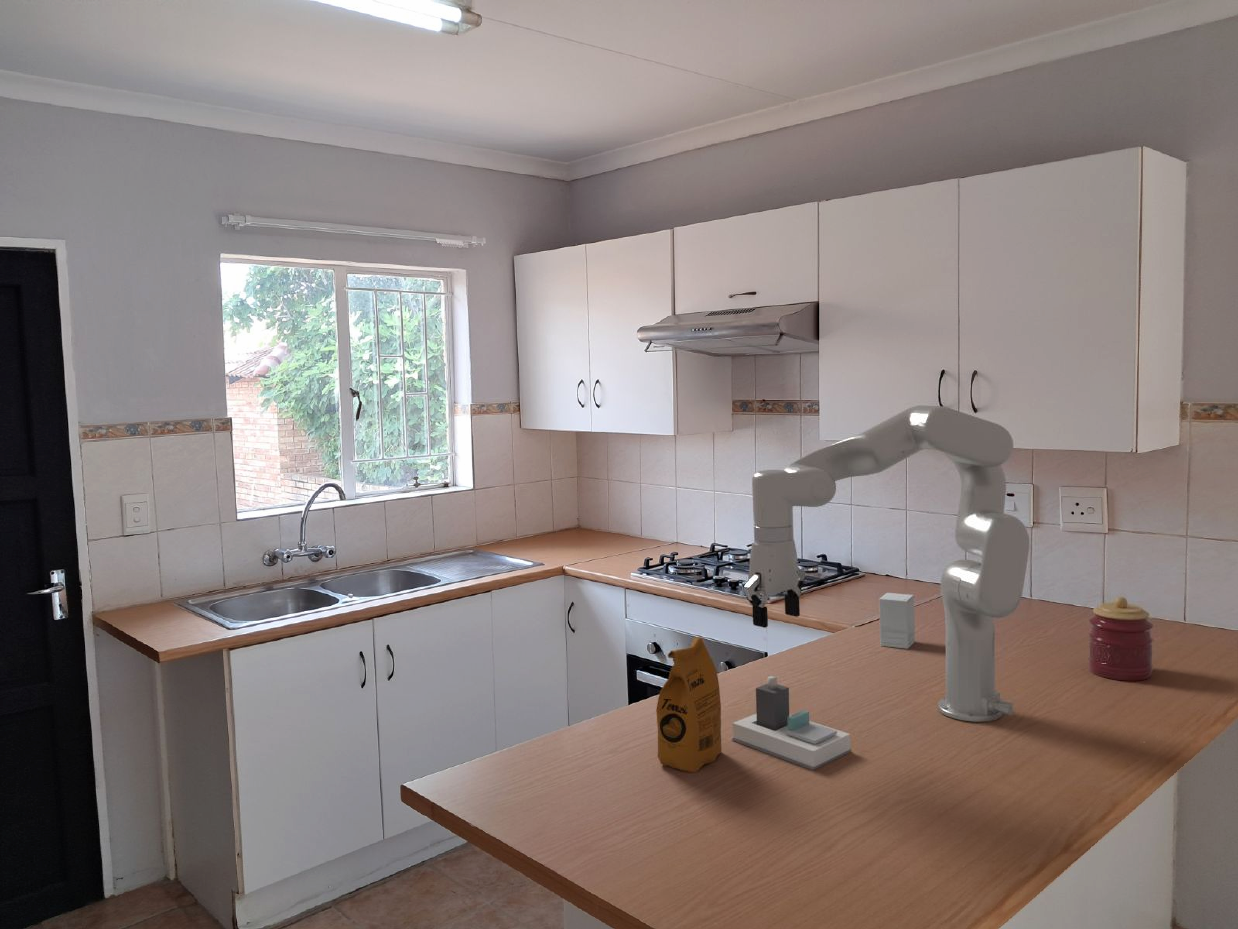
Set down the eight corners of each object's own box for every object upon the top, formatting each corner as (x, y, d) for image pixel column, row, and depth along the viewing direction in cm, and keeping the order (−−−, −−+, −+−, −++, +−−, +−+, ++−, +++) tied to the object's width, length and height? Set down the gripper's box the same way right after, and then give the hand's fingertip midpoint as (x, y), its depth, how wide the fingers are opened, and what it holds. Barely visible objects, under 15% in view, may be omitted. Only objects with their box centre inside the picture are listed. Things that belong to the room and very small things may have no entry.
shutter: (837, 734, 172) (836, 718, 171) (815, 744, 167) (814, 728, 167) (806, 724, 177) (806, 709, 177) (785, 733, 173) (784, 718, 173)
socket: (851, 751, 173) (850, 733, 172) (812, 770, 165) (812, 751, 165) (770, 724, 188) (770, 707, 187) (732, 740, 180) (731, 723, 180)
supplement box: (915, 642, 239) (915, 594, 238) (907, 649, 233) (907, 601, 232) (887, 638, 243) (886, 591, 242) (879, 646, 237) (878, 598, 236)
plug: (789, 737, 179) (788, 677, 178) (775, 743, 176) (773, 683, 175) (771, 731, 183) (770, 672, 182) (757, 737, 180) (755, 678, 179)
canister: (1139, 686, 201) (1141, 607, 199) (1078, 673, 211) (1079, 598, 209) (1161, 671, 210) (1162, 596, 208) (1101, 660, 219) (1102, 587, 218)
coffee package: (649, 764, 171) (645, 649, 168) (685, 742, 180) (682, 632, 178) (694, 777, 165) (690, 657, 162) (729, 752, 174) (726, 640, 172)
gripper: (786, 525, 186) (789, 608, 187) (729, 539, 174) (732, 627, 176) (816, 529, 180) (819, 614, 182) (759, 543, 169) (762, 634, 170)
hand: (776, 620), depth 179 cm, fingers open, 9 cm apart
